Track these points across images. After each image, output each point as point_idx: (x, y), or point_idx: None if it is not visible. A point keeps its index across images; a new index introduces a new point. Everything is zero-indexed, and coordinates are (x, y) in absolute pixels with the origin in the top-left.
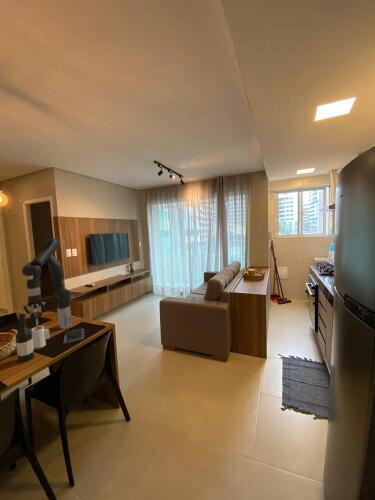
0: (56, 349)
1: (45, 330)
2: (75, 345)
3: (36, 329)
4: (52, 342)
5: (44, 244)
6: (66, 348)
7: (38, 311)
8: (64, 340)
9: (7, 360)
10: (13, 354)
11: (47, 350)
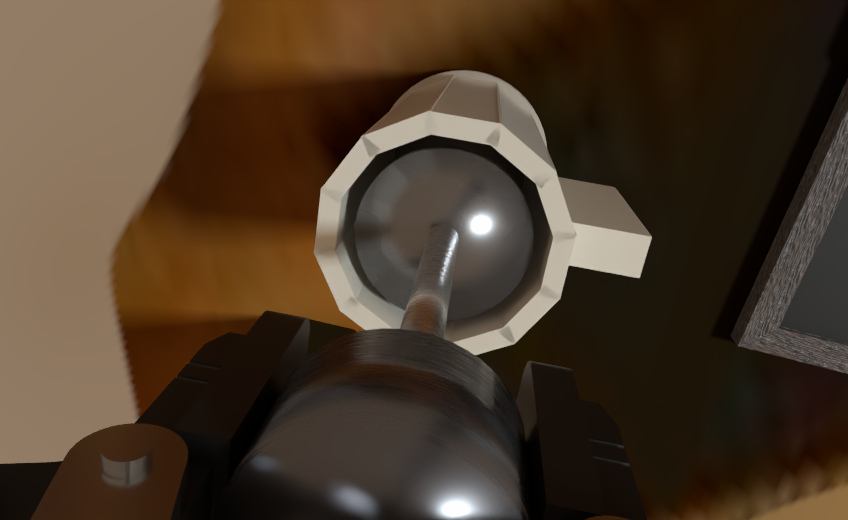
0: (619, 413)
1: (580, 266)
2: (827, 477)
3: (417, 237)
4: (630, 169)
5: None
6: (717, 471)
7: (497, 517)
8: (776, 288)
9: (134, 279)
10: (171, 166)
11: None
